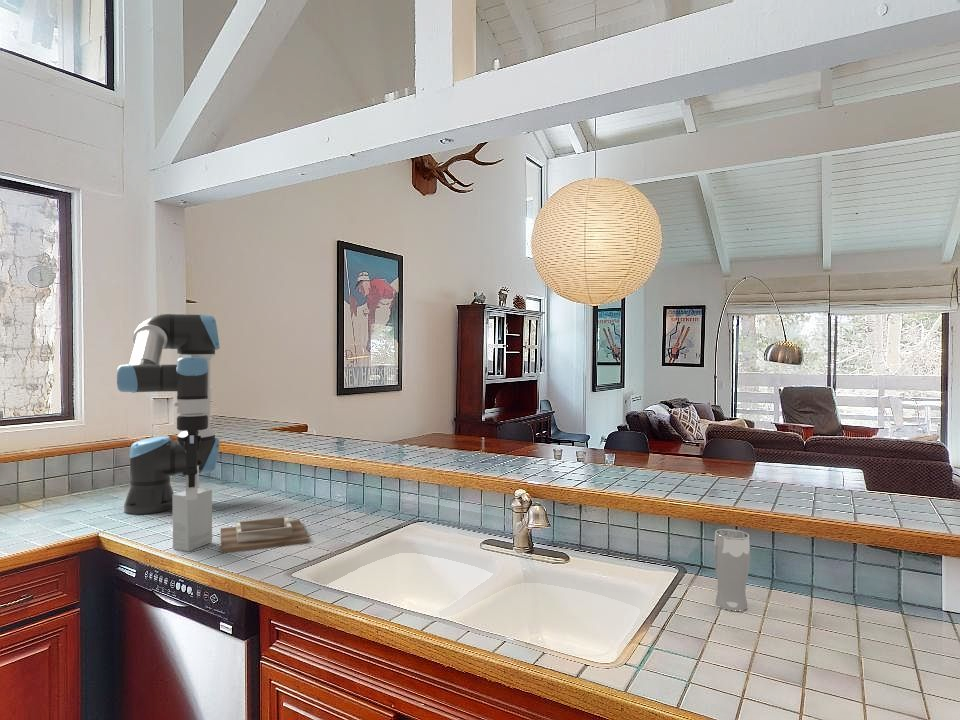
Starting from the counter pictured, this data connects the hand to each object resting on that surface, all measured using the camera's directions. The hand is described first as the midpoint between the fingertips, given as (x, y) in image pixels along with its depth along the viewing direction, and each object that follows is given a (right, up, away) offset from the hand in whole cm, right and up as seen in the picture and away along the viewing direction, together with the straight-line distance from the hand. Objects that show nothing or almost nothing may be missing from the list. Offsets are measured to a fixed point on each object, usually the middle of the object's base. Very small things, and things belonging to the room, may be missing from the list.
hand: (192, 494), depth 158 cm
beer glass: (+129, -15, -36) cm, 135 cm away
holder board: (+16, -14, +9) cm, 23 cm away
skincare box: (0, -14, 0) cm, 14 cm away
